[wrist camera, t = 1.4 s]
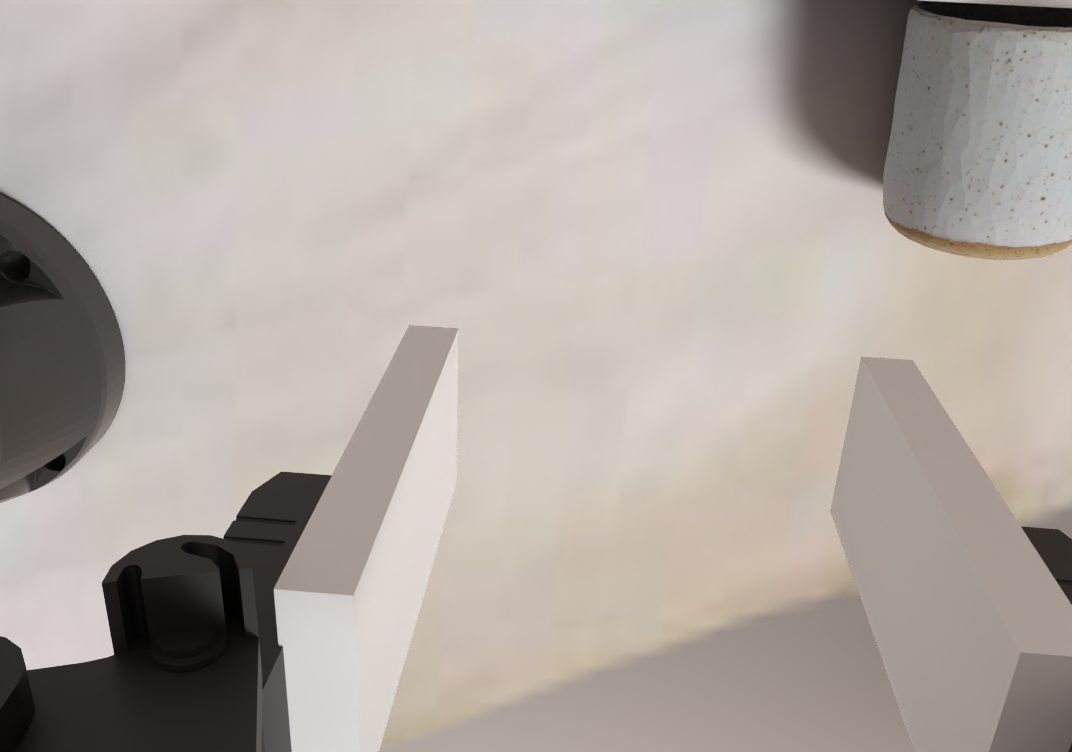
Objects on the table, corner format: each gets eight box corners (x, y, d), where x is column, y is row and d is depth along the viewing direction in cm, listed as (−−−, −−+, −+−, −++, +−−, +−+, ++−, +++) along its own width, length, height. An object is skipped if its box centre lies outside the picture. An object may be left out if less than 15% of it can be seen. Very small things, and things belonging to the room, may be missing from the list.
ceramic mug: (856, 209, 41) (908, 270, 34) (885, -4, 37) (950, 16, 30) (1122, 212, 40) (1231, 275, 33) (1177, -4, 37) (1311, 16, 30)
